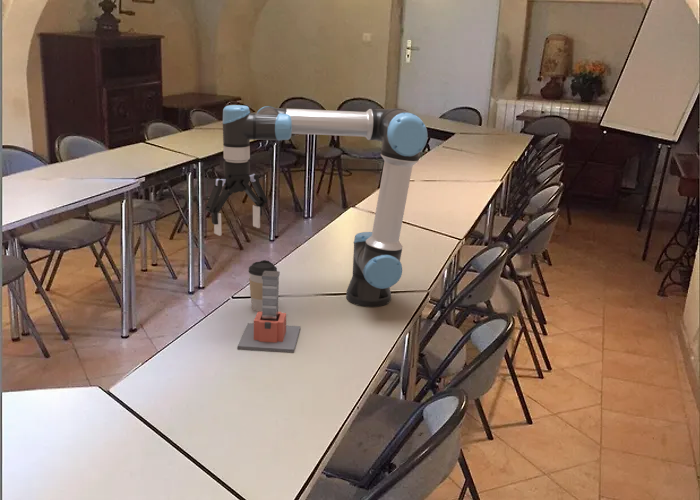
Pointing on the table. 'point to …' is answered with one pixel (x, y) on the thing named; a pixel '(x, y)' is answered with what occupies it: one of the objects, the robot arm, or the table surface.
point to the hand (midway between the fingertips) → (237, 230)
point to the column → (270, 295)
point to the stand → (269, 335)
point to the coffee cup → (258, 282)
